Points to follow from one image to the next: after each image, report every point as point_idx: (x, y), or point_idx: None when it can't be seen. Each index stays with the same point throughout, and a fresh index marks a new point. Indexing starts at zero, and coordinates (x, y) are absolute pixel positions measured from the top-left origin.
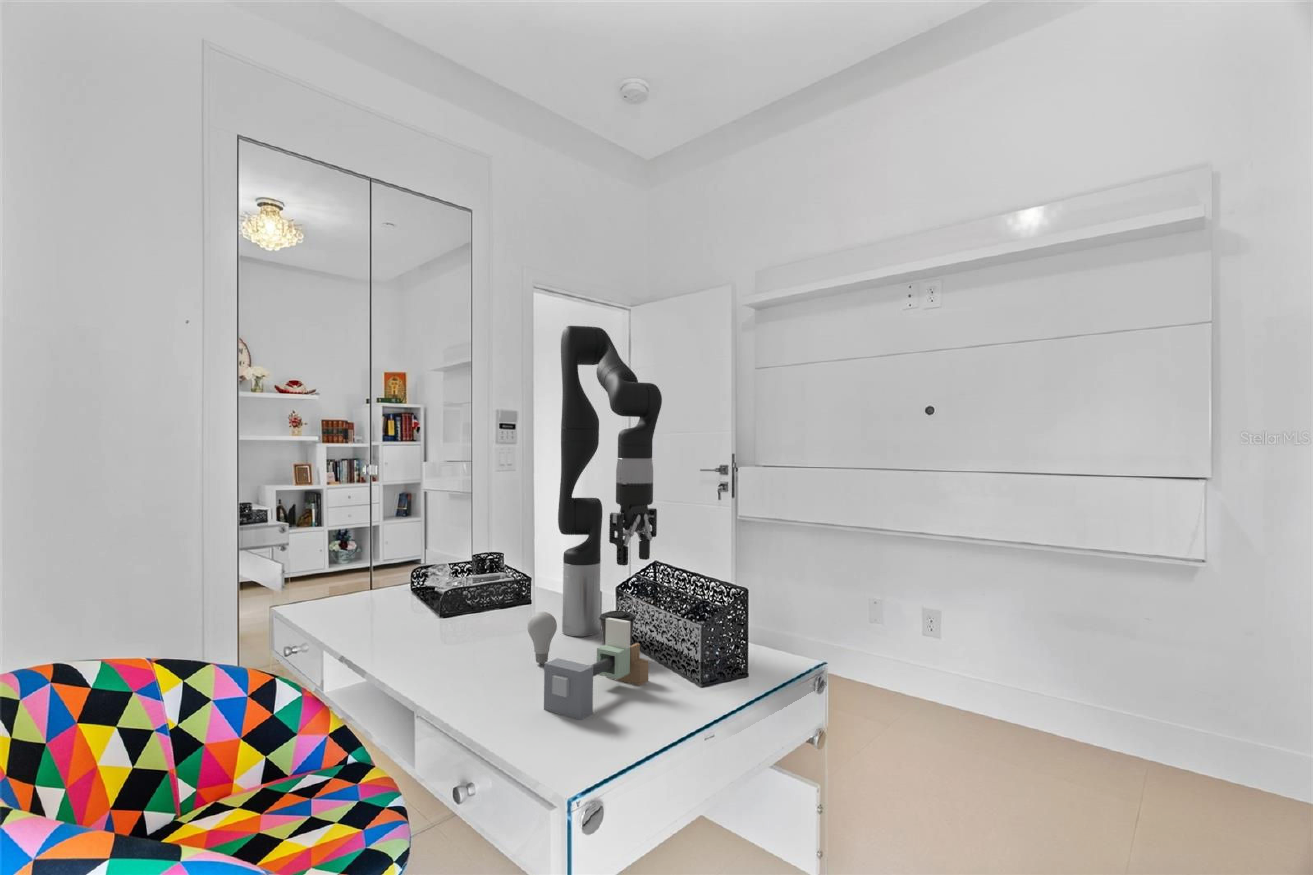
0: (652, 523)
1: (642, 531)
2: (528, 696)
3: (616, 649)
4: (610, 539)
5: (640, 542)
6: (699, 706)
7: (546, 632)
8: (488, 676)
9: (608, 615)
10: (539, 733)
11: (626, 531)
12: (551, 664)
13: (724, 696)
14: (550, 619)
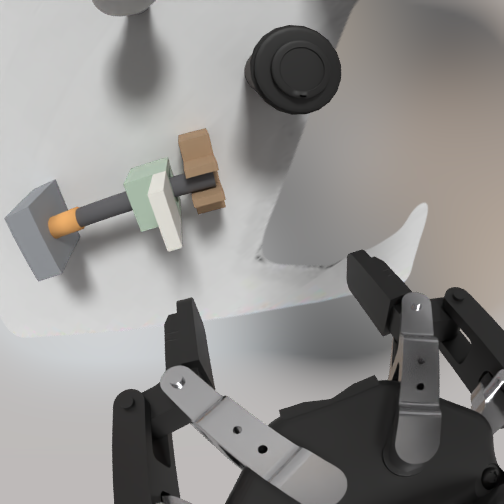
0: (464, 374)
1: (393, 372)
2: (36, 131)
3: (150, 214)
4: (116, 415)
5: (386, 302)
6: (204, 296)
7: (113, 15)
8: (39, 16)
9: (271, 64)
10: (11, 245)
11: (223, 452)
12: (11, 228)
13: (252, 293)
14: (125, 1)
